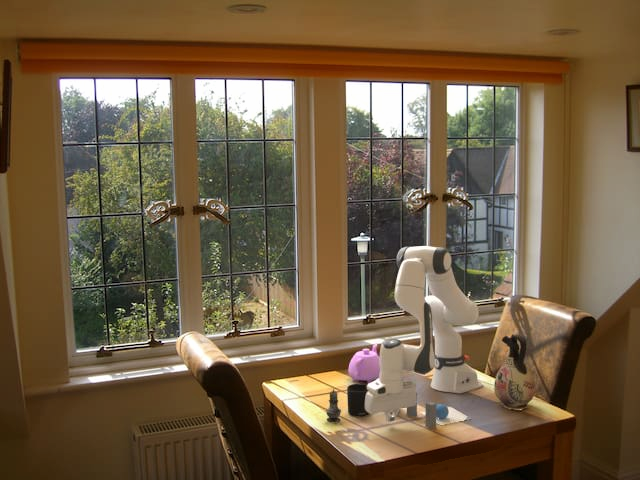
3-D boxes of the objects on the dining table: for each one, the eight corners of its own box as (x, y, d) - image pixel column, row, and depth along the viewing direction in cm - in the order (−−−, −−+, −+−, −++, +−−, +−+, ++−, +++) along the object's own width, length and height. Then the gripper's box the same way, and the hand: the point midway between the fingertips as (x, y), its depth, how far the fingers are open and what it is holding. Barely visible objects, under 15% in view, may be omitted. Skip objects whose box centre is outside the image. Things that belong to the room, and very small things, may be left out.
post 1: (412, 413, 266) (413, 390, 265) (416, 415, 264) (417, 392, 262) (406, 414, 265) (406, 391, 264) (410, 416, 262) (410, 394, 261)
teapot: (361, 369, 320) (361, 340, 318) (392, 374, 313) (392, 344, 311) (340, 383, 300) (340, 352, 299) (373, 389, 293) (373, 357, 291)
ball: (428, 412, 262) (439, 417, 264) (436, 418, 257) (447, 423, 259) (435, 399, 262) (445, 404, 264) (443, 405, 257) (453, 409, 259)
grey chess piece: (325, 417, 263) (325, 386, 261) (340, 416, 263) (340, 386, 262) (326, 423, 257) (326, 391, 255) (342, 422, 257) (342, 391, 256)
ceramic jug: (485, 402, 277) (487, 329, 273) (517, 397, 283) (519, 326, 279) (512, 417, 261) (514, 340, 257) (545, 412, 267) (548, 336, 263)
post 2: (431, 425, 255) (432, 401, 253) (436, 427, 252) (436, 403, 251) (425, 426, 253) (425, 402, 252) (429, 429, 251) (429, 405, 250)
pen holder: (343, 415, 264) (343, 390, 263) (352, 407, 273) (352, 382, 272) (366, 419, 261) (366, 393, 259) (374, 410, 269) (375, 385, 268)
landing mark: (449, 407, 272) (449, 406, 272) (471, 419, 260) (471, 418, 260) (419, 412, 266) (419, 412, 266) (440, 425, 254) (440, 425, 254)
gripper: (411, 377, 258) (410, 413, 260) (362, 385, 250) (362, 422, 251) (420, 382, 253) (419, 419, 254) (371, 391, 244) (371, 428, 246)
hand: (390, 421), depth 253 cm, fingers closed
